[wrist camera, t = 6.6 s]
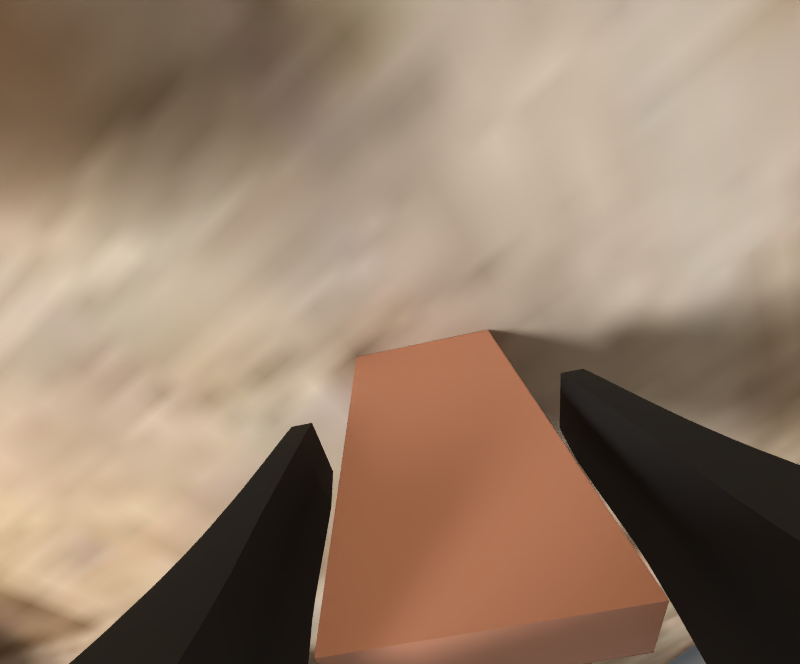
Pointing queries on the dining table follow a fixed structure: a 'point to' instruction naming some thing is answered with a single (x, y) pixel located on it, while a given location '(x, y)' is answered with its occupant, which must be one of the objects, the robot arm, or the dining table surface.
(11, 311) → the dining table surface
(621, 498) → the robot arm
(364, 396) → the terracotta domino
